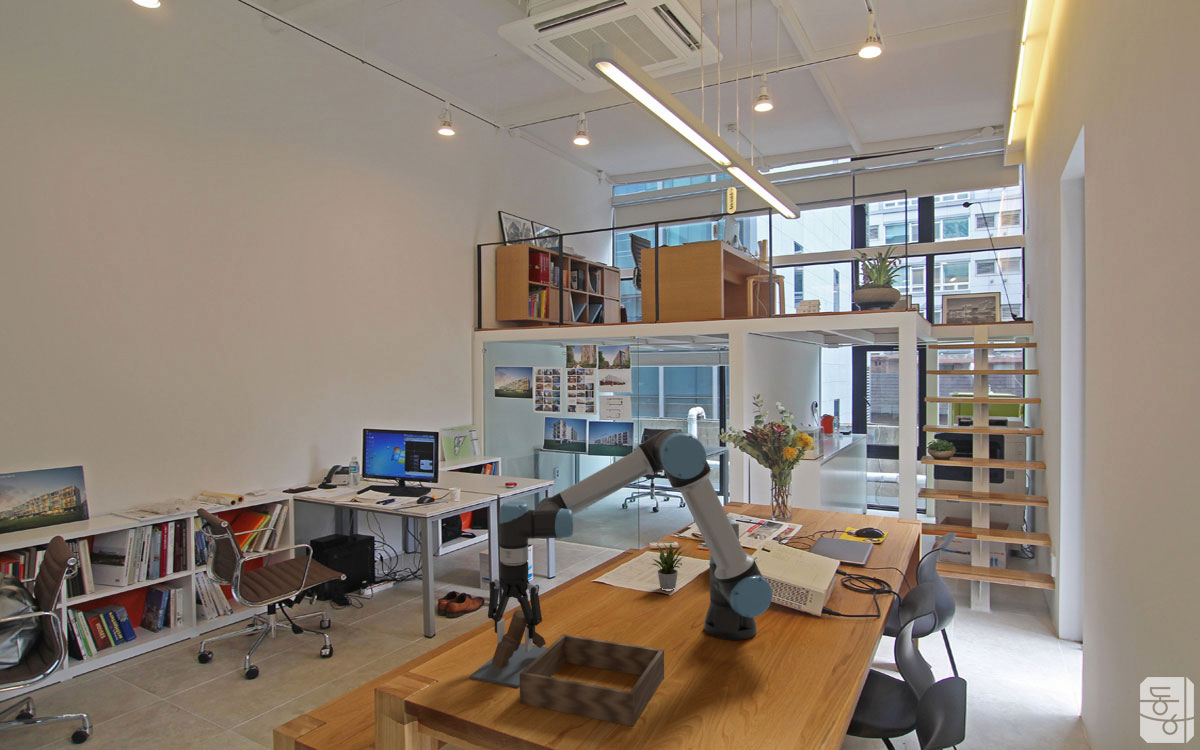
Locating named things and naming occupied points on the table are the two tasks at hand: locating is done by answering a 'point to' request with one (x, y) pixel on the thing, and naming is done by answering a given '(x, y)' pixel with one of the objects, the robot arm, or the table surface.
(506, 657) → the wooden block set
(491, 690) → the table surface
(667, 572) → the house plant
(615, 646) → the crate
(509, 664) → the mat
